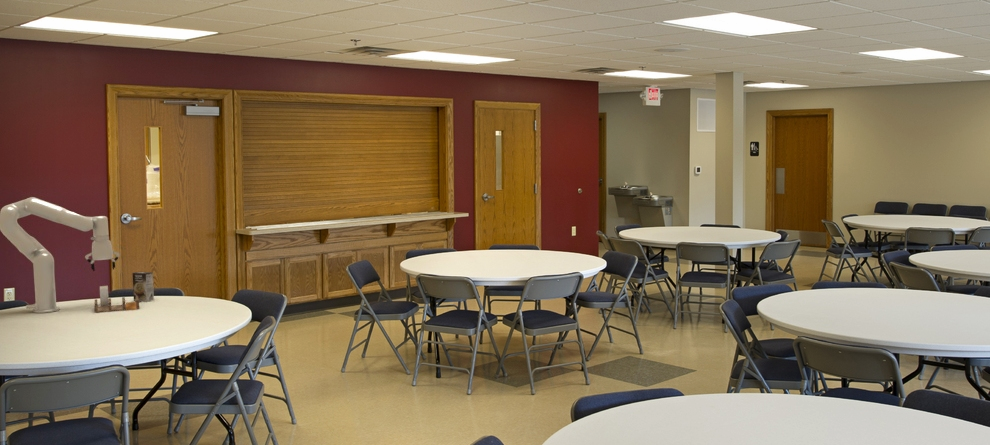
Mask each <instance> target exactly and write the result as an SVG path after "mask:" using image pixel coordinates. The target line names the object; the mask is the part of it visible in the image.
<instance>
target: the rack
mask: <svg viewBox="0 0 990 445" xmlns="http://www.w3.org/2000/svg"><path fill="white" fill-rule="evenodd" d="M108 300H109V306H101V305H100V306H99V305H98V299H96V298H95V299H94V313H95V314H97V313H109V312H112V313H113V312H121V311H122V312H123V311H133V310H136V311H137V310H140V302H139V298H138V296H136V301H133V302H132V301H131V302H126V298H125V296H123V297H121V300H122V302H121V303H122V304H116V305H115V304H114V305H112V298H109V297H108Z"/></svg>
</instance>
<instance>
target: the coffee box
mask: <svg viewBox="0 0 990 445" xmlns="http://www.w3.org/2000/svg"><path fill="white" fill-rule="evenodd" d="M132 291H133V292H132V293H133V302H136V296H138V298H139V301H140V302H141V301H142V302H144V303H148V302H151V301H154V300H155V298H154V297H155V296H154V295H155V293H154V292H155V291H154V272H152V271H135V272H132ZM140 302H139V303H140ZM142 302H141V303H142Z"/></svg>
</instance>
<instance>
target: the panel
mask: <svg viewBox="0 0 990 445" xmlns="http://www.w3.org/2000/svg"><path fill="white" fill-rule="evenodd" d="M99 303H100V306H109V286H108V285H102V286H101V285H99Z"/></svg>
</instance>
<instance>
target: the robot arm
mask: <svg viewBox="0 0 990 445" xmlns="http://www.w3.org/2000/svg"><path fill="white" fill-rule="evenodd" d="M30 215H33V216H37V217H39V218H42V219H45V220H49V221H51V222H54V223H57V224H62V225H64V226H68V227H71V228H73V229H75V230H76V229H77V230H79V231H82V232H89V231H91V230H92V232H93V233H92V234H93V235H92V237H90V240H91V241H92V243H91V252H90V253H88V254H86V255H85V256H84V258H85V259H86V261H87V262H88V263H90V264H91V267H90V268H91V270H92V271H93V272H95V261H103V260H104V261H105V260H111V264H112V266H111V267H112V268H111V269H112V270H115V269H116V262H117V260H118V259H119V257H120V256H121V253H119V252H117V251H114V250H113V244H112V241H111V240H110V236H109V221H108V220H109V218H108V217H107V215H106V216H105V215H99V216H98V215H97V216H84V215H81V214H78V213H76V212H74V211H70V210H68V209H66V208H64V207H62V206H61V205H60V206H59V205H58V204H54V203H51V202H49V201H45V200H43V199H40V198H38V197H34V196H30V197H28V198H26V199H22V200H19V201H16V202H13V203H10V204H7V205H4V206H3V207H2V208H1V209H0V232H1V233H2V234H3V236H5V238H7V240H8V241H10V243H11V244H12V245H13V246H14V247H15V248H16V249H17V250H18V251H19V253H21V254H22V255H24V256H25V257H26V258H27V259H28V260H29V261H30V262H31V263H32V266H33V279H34V280H33V282H34V295H35V296H34V297H35V298H34V299H35V303H33V304H26V305H25V306H26V307H25V308H26V309H27V310H28V309H29V310H30V309H32V313H33V314H34V313H36V314H43V313H44V314H45V313H52V312H57V311H60V307H59V306H57V296H56V295H57V294H56V279H55V258H54V256H53V255H52V253H51V252H50V251H48V249H46V248H45V247H44V245H42V244H41V243H40V242H39V241H38V240H37V238H35V237H34V236H31V235H30V234H28V232H27V231H26V230H25V229H23V227H22V226H20V224H19V223H18V219H20V218H24V217H27V216H30ZM114 255H116V256H115V257H114ZM89 257H92V259H90V258H89Z"/></svg>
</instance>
